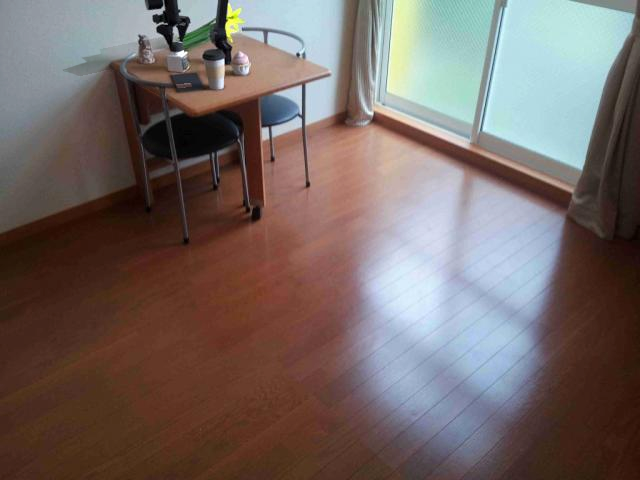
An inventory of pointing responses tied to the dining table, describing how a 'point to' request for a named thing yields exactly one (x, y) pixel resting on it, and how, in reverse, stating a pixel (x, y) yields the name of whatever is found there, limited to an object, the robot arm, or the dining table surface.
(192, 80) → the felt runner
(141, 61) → the figurine
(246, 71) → the cupcake
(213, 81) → the coffee cup
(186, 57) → the medicine bottle
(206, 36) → the daffodil flowers
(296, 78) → the dining table surface
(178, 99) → the dining table surface
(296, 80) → the dining table surface
